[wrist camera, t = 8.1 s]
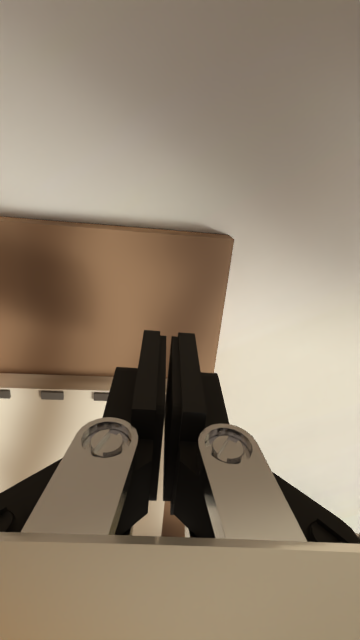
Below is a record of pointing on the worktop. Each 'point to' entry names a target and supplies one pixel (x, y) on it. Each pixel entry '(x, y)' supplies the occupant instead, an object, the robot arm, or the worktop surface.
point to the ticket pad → (94, 329)
